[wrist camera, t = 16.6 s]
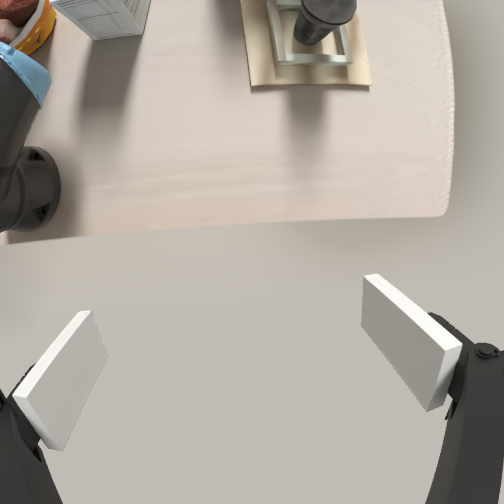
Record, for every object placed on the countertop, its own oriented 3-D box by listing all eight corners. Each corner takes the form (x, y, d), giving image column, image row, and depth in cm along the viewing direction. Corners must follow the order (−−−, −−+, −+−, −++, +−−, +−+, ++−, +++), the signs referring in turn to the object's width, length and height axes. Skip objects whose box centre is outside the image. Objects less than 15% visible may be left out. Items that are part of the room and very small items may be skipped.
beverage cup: (337, 41, 39) (394, -13, 20) (305, 60, 40) (353, 4, 21) (308, 10, 37) (350, -55, 18) (275, 28, 38) (304, -41, 19)
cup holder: (251, 86, 42) (253, 80, 38) (239, -4, 37) (240, -14, 33) (369, 86, 43) (378, 81, 39) (350, 0, 38) (358, -8, 34)
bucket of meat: (80, -15, 32) (35, -63, 13) (66, 53, 36) (3, 16, 17) (4, 18, 30) (-49, -9, 11) (-9, 83, 35) (-74, 70, 16)
